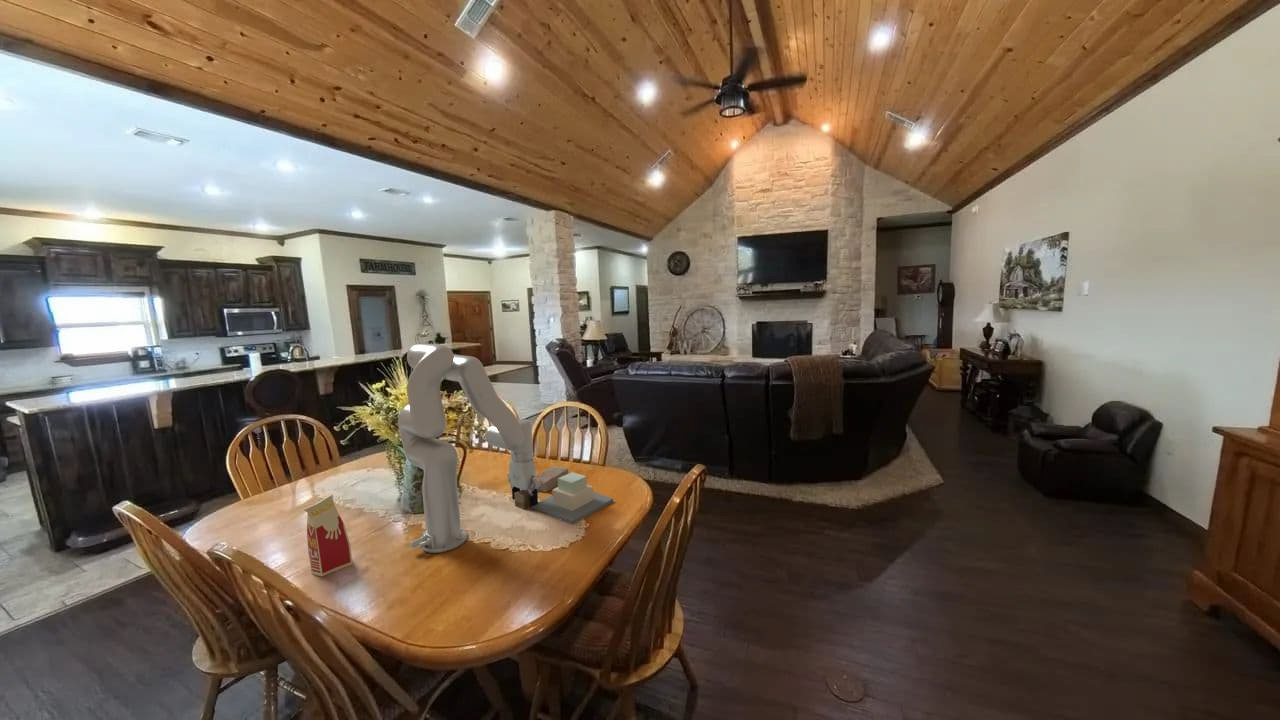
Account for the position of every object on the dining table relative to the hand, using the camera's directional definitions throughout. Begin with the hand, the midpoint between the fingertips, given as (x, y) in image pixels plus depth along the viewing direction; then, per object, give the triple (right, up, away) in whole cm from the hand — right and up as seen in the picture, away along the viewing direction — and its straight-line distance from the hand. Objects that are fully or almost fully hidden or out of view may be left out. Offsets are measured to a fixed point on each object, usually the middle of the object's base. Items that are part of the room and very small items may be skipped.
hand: (525, 501), depth 159 cm
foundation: (+17, -1, -1) cm, 17 cm away
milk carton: (-46, -7, -34) cm, 57 cm away
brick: (+5, +1, +19) cm, 20 cm away
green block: (+17, +5, -1) cm, 18 cm away
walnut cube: (0, -1, 0) cm, 2 cm away
